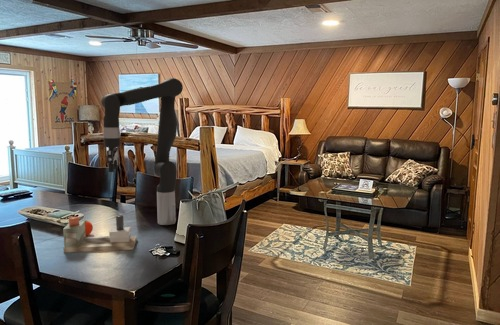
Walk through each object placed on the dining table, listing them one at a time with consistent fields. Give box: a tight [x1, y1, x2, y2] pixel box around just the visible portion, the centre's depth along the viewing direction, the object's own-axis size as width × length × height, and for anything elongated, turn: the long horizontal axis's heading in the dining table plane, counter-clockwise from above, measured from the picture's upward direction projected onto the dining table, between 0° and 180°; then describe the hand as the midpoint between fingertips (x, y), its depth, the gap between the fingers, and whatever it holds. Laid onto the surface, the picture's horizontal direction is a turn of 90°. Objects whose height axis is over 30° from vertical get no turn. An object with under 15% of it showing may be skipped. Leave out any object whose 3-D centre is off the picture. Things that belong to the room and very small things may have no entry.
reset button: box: [68, 216, 80, 226], centre depth 164 cm, size 4×4×3 cm
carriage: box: [108, 214, 132, 243], centre depth 168 cm, size 8×6×11 cm
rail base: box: [62, 220, 138, 253], centre depth 167 cm, size 28×12×10 cm, turn 99°
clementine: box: [84, 220, 94, 237], centre depth 181 cm, size 8×7×7 cm
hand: (113, 170), depth 184 cm, fingers open, 8 cm apart
